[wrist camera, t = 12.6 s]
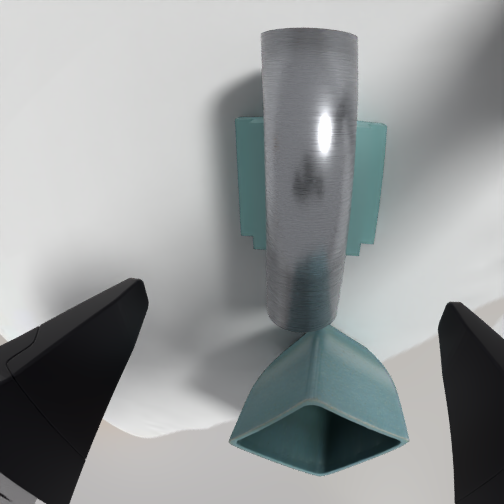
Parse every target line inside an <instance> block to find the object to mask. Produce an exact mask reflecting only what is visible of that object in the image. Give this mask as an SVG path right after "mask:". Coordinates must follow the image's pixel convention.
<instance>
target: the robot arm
mask: <svg viewBox="0 0 504 504" xmlns="http://www.w3.org/2000/svg"><path fill="white" fill-rule="evenodd" d="M148 304H149V302H148V297H147V294H146V290H145V286H144V283H143V281H142V280H141V279H135V278H129V279H127V280H125V281H123V282H121V283H119V284H117V285H115V286H113V287H111V288H109V289H107V290H105V291H103V292H101V293H100V294H98V295H96V296H94V297H92V298H90V299H88V300H86V301H84V302H82V303H81V304H79V305H77V306H75V307H73V308H71V309H69V310H67V311H66V312H64V313H62V314H60V315H58V316H56V317H54V318H52V319H51V320H49V321H47V322H45V323H43V324H41V325H40V327H39V326H38V327H36V328H34V329H32V330H30V331H29V332H27V333H25V334H23V335H21V336H19V337H17V338H15V339H13V340H11V341H9V342H7V343H5V344H3V345H1V346H0V504H35V502H36V500H37V498H38V499H39V500H41V501H43V502H44V503H46V504H69V503H70V500H71V498H72V495H73V492H74V489H75V487H76V484H77V481H78V479H79V476H80V473H81V471H82V468H83V465H84V463H85V459H86V457H87V455H88V452H89V450H90V447H91V445H92V442H93V440H94V437H95V435H96V432H97V430H98V428H99V425H100V423H101V420H102V418H103V416H104V413H105V411H106V409H107V406H108V404H109V402H110V400H111V397H112V395H113V393H114V390H115V388H116V386H117V384H118V382H119V379H120V377H121V375H122V373H123V370H124V368H125V366H126V364H127V362H128V360H129V357H130V355H131V353H132V351H133V348H134V346H135V343H136V341H137V338H138V335H139V332H140V329H141V326H142V323H143V320H144V318H145V315H146V312H147V309H148ZM438 334H439V343H440V353H441V365H442V376H443V382H444V388H445V394H446V401H447V407H448V415H449V422H450V432H451V441H452V453H453V465H454V491H455V504H504V339H503V338H502V337H501V336H500V335H499V334H497V333H496V332H495V331H494V330H493V329H492V328H491V327H489V326H488V325H487V324H486V323H485V322H484V321H483V320H481V319H480V318H479V317H478V316H477V315H475V314H474V313H473V312H472V311H471V310H470V309H468V308H467V307H466V306H465V305H463V304H462V303H461V302H449V303H447V305H446V307H445V309H444V312H443V315H442V317H441V320H440V322H439V326H438Z"/></svg>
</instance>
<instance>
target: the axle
mask: <svg viewBox="0 0 504 504" xmlns="http://www.w3.org/2000/svg"><path fill="white" fill-rule="evenodd" d="M261 55H262V85H263V120H264V160H265V209H266V281H267V313H268V315H269V317H270V319H271V320H272V321H273V322H274V323H275V324H277V325H278V326H280V327H282V328H284V329H287V330H290V331H294V332H313V331H317V330H320V329H323V328H325V327H327V326H328V325H330V324H331V323H332V322H333V320H334V319H335V317H336V314H337V309H338V303H339V297H340V290H341V284H342V277H343V270H344V263H345V255H346V248H347V239H348V231H349V222H350V212H351V202H352V191H353V179H354V166H355V151H356V132H357V105H358V37H357V36H356V35H353V34H351V33H347V32H343V31H337V30H330V29H320V28H285V29H276V30H270V31H266V32H263V33H261Z"/></svg>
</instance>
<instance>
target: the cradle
mask: <svg viewBox="0 0 504 504" xmlns="http://www.w3.org/2000/svg"><path fill="white" fill-rule="evenodd" d="M235 127H236V148H237V167H238V187H239V205H240V224H241V235H242V236H253V245H254V249H263V250H266V209H265V160H264V120H263V117H239V118H237V119H235ZM386 132H387V126H386V125H384V124H382V123H373V122H363V121H357V132H356V151H355V166H354V179H353V191H352V202H351V212H350V222H349V231H348V239H347V248H346V255H352V256H359V252H360V245H361V243H365V244H374V238H375V231H376V225H377V218H378V210H379V203H380V195H381V187H382V178H383V168H384V157H385V146H386Z"/></svg>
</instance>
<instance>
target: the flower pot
mask: <svg viewBox="0 0 504 504" xmlns="http://www.w3.org/2000/svg"><path fill="white" fill-rule="evenodd" d="M407 442H409V437H408V433H407V428H406V424H405V420H404V416H403V412H402V408H401V404H400V401H399V397H398V393H397V390H396V387H395V385H394V382H393V380H392V378H391V376H390V375H389V373H388V371H387V370H386V369H385V367H384V366H383V365H382V363H381V362H380V361H379V360H378V359H377V358H376V357H375V356H374V355H373V354H372V353H371V352H370V351H369V350H368V349H367V348H366V347H364V346H362V345H361V344H359V343H358V342H356V341H355V340H353V339H351V338H350V337H348V336H346V335H345V334H343V333H342V332H340V331H339V330H337V329H336V328H334V327H332V326H331V325H328V326H327V327H325V328H323V329H320V330H317V331H313V332H307V333H306V334H305V335H304V336H302V337H301V338H300V339H299V340H298V341H296V342H295V343H294V344H293V345H292V346H290V347H289V348H288V349H286V350H285V351H284V352H283V353H282V354H281V355H280V356H279V357H278V358H276V359H275V360H274V361H273V362H272V363H271V364H270V365H269V366H268V367H267V369H266V370H265V371H264V372H263V373H262V375H261V376H260V377H259V378H258V380H257V381H256V383H255V384H254V386H253V388H252V389H251V391H250V394H249V396H248V398H247V400H246V402H245V405H244V407H243V409H242V411H241V414H240V416H239V418H238V421H237V423H236V425H235V428H234V430H233V432H232V435H231V437H230V439H229V443H230V444H231V445H233V446H235V447H237V448H240V449H242V450H244V451H247V452H250V453H252V454H255V455H257V456H260V457H262V458H265V459H268V460H270V461H273V462H276V463H279V464H281V465H284V466H287V467H290V468H293V469H296V470H299V471H302V472H305V473H308V474H312V475H316V476H325V475H329V474H332V473H335V472H338V471H341V470H343V469H346V468H349V467H351V466H354V465H357V464H360V463H362V462H364V461H367V460H370V459H372V458H375V457H378V456H380V455H383V454H385V453H387V452H390V451H392V450H394V449H397V448H399V447H401V446H403V445H404V444H406V443H407Z"/></svg>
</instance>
